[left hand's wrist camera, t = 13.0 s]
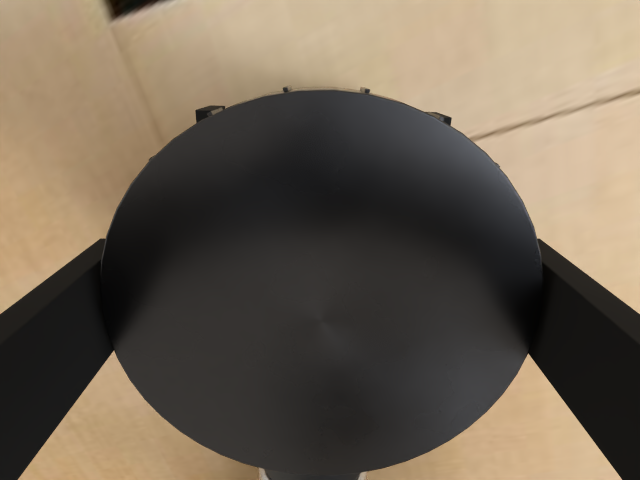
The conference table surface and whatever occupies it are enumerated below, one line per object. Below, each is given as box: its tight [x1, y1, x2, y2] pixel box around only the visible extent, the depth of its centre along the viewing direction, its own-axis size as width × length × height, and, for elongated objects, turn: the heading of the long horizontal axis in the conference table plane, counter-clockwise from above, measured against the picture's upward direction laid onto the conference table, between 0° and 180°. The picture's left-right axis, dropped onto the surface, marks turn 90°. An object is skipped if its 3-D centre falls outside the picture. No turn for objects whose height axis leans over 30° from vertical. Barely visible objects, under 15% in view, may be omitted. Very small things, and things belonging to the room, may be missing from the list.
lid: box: [100, 86, 543, 476], centre depth 11 cm, size 11×11×2 cm
